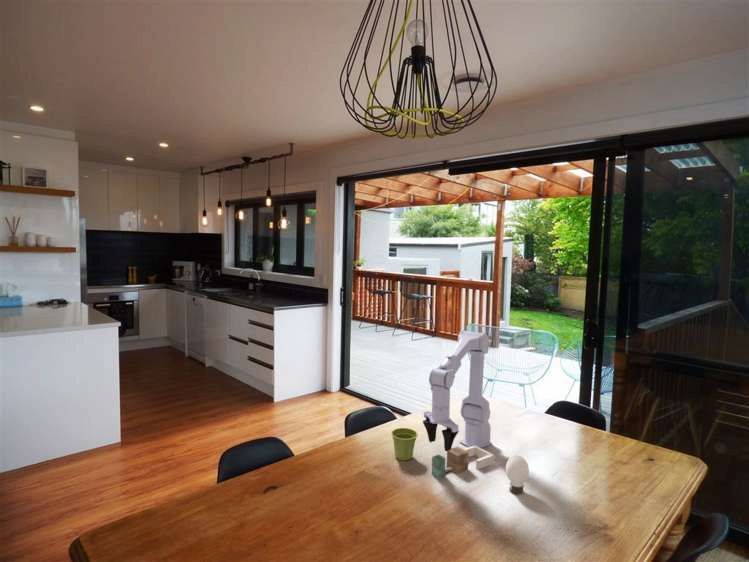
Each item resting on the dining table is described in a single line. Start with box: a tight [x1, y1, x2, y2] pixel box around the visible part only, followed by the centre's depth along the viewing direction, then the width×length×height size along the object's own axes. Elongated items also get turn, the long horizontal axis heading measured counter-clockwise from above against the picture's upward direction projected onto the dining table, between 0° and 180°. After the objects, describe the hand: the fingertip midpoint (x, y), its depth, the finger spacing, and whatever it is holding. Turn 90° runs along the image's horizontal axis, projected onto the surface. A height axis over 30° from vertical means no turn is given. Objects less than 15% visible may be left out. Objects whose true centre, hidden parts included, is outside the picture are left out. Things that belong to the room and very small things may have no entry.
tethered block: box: [431, 446, 469, 479], centre depth 147 cm, size 12×5×6 cm, turn 123°
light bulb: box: [505, 454, 530, 495], centre depth 135 cm, size 7×7×11 cm
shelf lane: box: [463, 445, 495, 470], centre depth 154 cm, size 8×9×3 cm
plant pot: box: [391, 427, 419, 462], centre depth 156 cm, size 9×9×9 cm
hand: (439, 445), depth 145 cm, fingers open, 7 cm apart
